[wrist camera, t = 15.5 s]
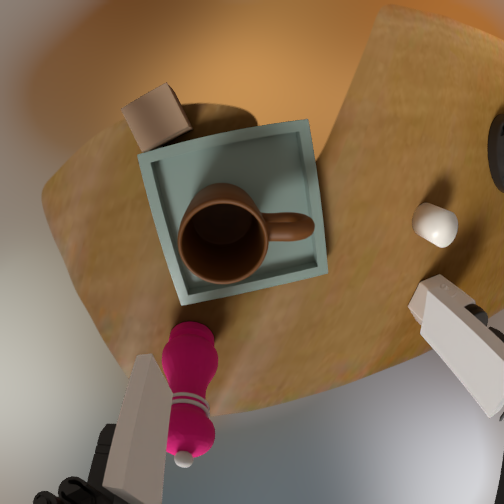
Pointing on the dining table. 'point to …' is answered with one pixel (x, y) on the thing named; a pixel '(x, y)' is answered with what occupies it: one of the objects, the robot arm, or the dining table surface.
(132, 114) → the block
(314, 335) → the dining table surface
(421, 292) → the jar
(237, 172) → the tray
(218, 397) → the dining table surface
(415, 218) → the white rounded cylinder
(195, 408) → the pepper mill
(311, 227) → the mug
